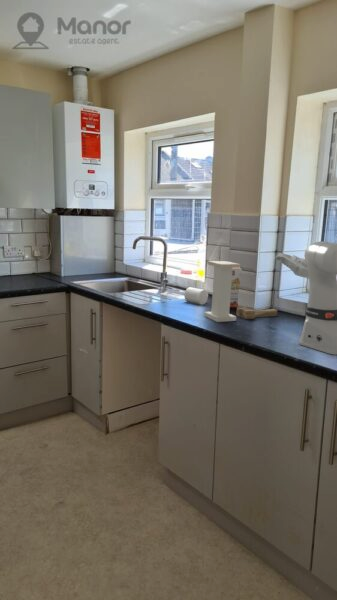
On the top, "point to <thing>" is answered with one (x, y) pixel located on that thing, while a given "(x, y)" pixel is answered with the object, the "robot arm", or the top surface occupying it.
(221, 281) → the stand
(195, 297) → the mug
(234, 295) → the cracker box
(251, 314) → the mallet
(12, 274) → the top surface
